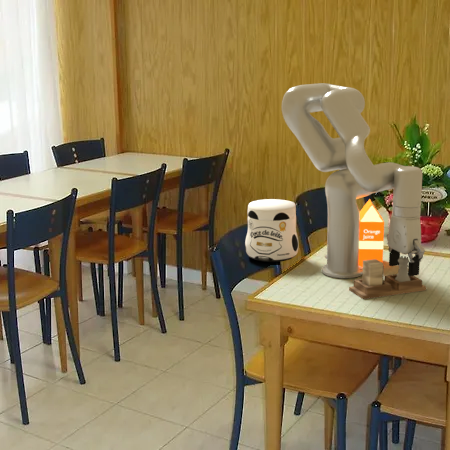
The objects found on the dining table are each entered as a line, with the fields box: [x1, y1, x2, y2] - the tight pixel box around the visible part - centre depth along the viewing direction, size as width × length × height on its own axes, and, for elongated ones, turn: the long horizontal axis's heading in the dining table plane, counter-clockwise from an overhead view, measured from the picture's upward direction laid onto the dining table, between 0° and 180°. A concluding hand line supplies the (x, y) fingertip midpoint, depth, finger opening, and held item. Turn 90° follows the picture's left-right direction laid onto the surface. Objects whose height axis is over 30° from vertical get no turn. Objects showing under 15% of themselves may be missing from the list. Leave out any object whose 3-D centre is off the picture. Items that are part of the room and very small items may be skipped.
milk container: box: [244, 198, 300, 263], centre depth 234 cm, size 17×17×18 cm
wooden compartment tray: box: [348, 259, 427, 300], centre depth 203 cm, size 8×20×9 cm, turn 109°
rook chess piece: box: [395, 255, 411, 282], centre depth 205 cm, size 4×4×8 cm
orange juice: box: [359, 198, 385, 268], centre depth 226 cm, size 8×9×20 cm
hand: (403, 270), depth 204 cm, fingers open, 9 cm apart
